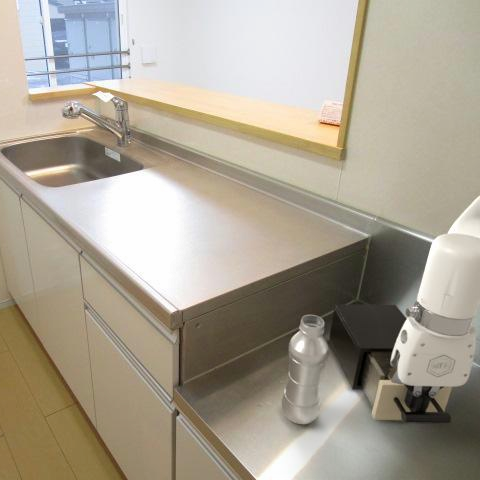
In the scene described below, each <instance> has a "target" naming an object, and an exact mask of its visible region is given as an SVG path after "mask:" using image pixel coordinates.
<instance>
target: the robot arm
mask: <svg viewBox="0 0 480 480" xmlns="http://www.w3.org/2000/svg"><path fill="white" fill-rule="evenodd" d="M479 307H480V195H478V196H477V197H476V198H475V199H474V200H473V201H472V202H471V203H470V205H468V207H467V208H466V209H465V210H464V211H463V212H462V213H461V214H460V215H459V216H458V217H457V218H456V220H455V221H454V222H453V224H452V225H451V227H450V228H449V230H448V231H447V233H443V234H440V235H438V236H436V238H434V239H433V241H432V243H431V245H430V247H429V253H428V256H427V260H426V263H425V267H424V270H423V273H422V278H421V282H420V285H419V289H418V293H417V296H416V300H415V301H414V305H413V306H412V307H406V308H405V315H406V318H407V320H406V321H405V323H404V325H403V327H402V329H401V331H400V333H399V335H398V338H397V340H396V343H395V346H394V349H393V352H392V356H391V361H390V364H391V366H392V369H391V371H390V372H389V374H388V377H389V379H390V380H391V382H393V383H397V384H401V385H402V384H404V385H405V386H406V387H407V388H408V390H407V393H406V397H405V404H406V406H407V407H408V408H409V409H410V411H411V412H426V409H427V408H428V406H429V402H430V399H431V397H434V396H436V395H437V393H438V391H439V390H440V389H442V388H443V387H445V386H449V387H452V388H453V387H462V386H463V385H465V384H466V383H467V381H468V380H469V377H470V375H471V370H472V367H473V364H474V358H475V353H476V344H477V329H476V328H475V327H474V326H473V324H474V321H475V318H476V316H477V313H478V310H479Z"/></svg>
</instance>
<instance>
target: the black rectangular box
mask: <svg viewBox="0 0 480 480" xmlns="http://www.w3.org/2000/svg"><path fill="white" fill-rule="evenodd" d="M407 318H408V317H407V316H405V314H404V313H403V312H402V311H401V310H400V308H399V307H398V306H397V304H334V307H333V315H332V319H331V326H330V332H329V338H328V343H329V345H330V347H331V349H332V351H333V354H334V356H335V357H336V360H337V362H338V364H339V365H340V367H341V369H342V372H343V373H344V376H345V377H346V380H347V381H348V384H349V386H350V388H351V389H352V390H363V388H362V386H361V385H360V383H359V381H358V379H359V374H360V369H361V365H362V360H363V355H364V352H393V349H394V346H395V343H396V340H397V338H398V335H399V333H400V331H401V329H402V327H403V325H404V323H405V321H406V320H407Z"/></svg>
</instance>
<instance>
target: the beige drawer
mask: <svg viewBox="0 0 480 480" xmlns="http://www.w3.org/2000/svg"><path fill="white" fill-rule="evenodd" d="M391 356H392V352H364V355H363V360H362V365H361V369H360V374H359V379H358V381H359V383H360V385H361V386H362V388H363V389H362V391H363V392H364V394H365V396H366V398H367V399H368V402H369V404H370V405H371V407H372V410H371V414H370V415H371V416H372V420H374V421H402V422H403V423H413V424H414V423H416V424H417V423H419V424H425V423H426V424H450V423H451V422H452V416H451V414H450V412H447V411H445V410H446V408H447V405H448V401H449V398H450V396H451V392H452V390H453V387H449V386H445V387H443V388H442V389H440V390H439V391H438V393H437V395H436V396H434V397H431V399H430V402H429V406H428V408H427V409H426V412H411V411H410V409H409V408H408V407H407V406H406V404H405V397H406V393H407V390H408V388H407V387H406V386H405V385H404V384H402V385H401V384H397V383H393V382H391V380H390V379H389V377H388V374H389V372H390V371H391V369H392V366H391V364H390V361H391Z"/></svg>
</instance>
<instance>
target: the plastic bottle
mask: <svg viewBox="0 0 480 480" xmlns="http://www.w3.org/2000/svg"><path fill="white" fill-rule="evenodd" d="M298 330H299V331H297V332H296V333H295V334H294V335H293V336H292V337H291V339H290V341H289V343H288V363H289V364H288V376H287V381H286V385H285V388H284V391H283V394H282V397H281V409H282V412H283V414H284V415H285V417H286V418H287V419H288V420H289V421H290V422H292V423H295V424H297V425H308V424H310V423H312V422H314V421H315V420H316V419H317V418H318V415H319V413H320V409H321V398H320V393H321V391H320V389H321V381H322V377H323V373H324V369H325V367H326V364H327V361H328V359H329V354H330V349H329V344H328V342H327V340H326V339H325V337H324V334H325V321H324V319H323V318H321V317H320V316H319V315H315V314H306V315H303V316H302V317H301V319H300V324H299V328H298Z"/></svg>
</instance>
